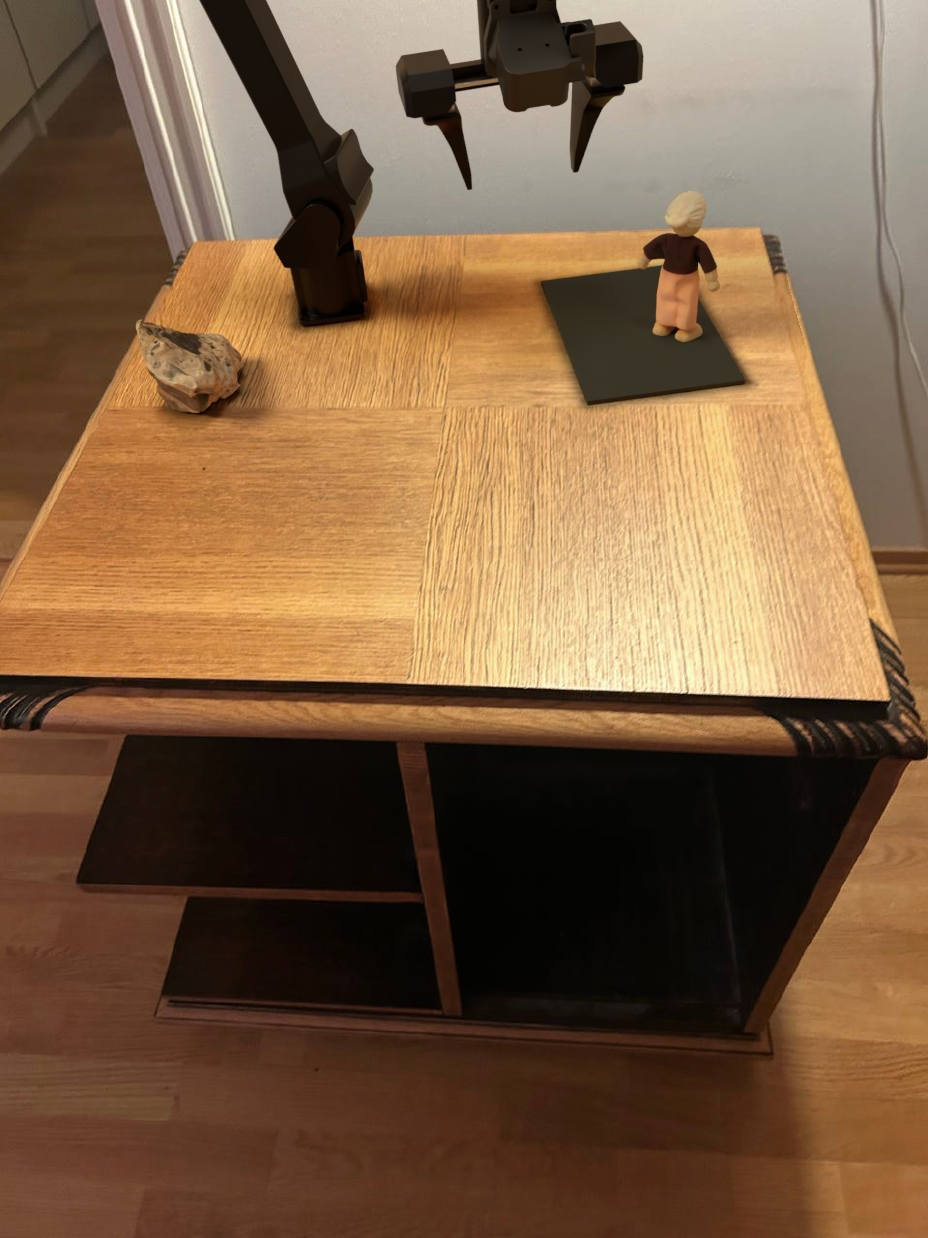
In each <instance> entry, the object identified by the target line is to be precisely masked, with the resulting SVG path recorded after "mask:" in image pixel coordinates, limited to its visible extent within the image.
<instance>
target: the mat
mask: <svg viewBox="0 0 928 1238" xmlns="http://www.w3.org/2000/svg"><path fill="white" fill-rule="evenodd" d="M662 265H663V264H662ZM662 265H661V264H660V265H654V266H648V267H647V268H646V269H644V270H643V269H639V268H638V267H637V268H631V269H630V268H629V269H624V270H615V271H608V272H600V273H599V272H598V273H593V274H592V273H591V274H584V275H575V276H568V277H560V278H553V279H545V280H540V285H541V288H542V290H543V294H544V296H545V299H546V301H547V303H548V306H549V309H550V311H551V315H552V316H553V319H554V322H555V324H556V327H557V330H558V333H559V335H560V337H561V338H560V339H561V341H562V342H563V345H564V348H565V350H566V354H567V357H568V358H569V361H570V364H571V367H572V370H573V371H574V374H575V378H576V380H577V383H578V384H579V387H580V390H581V392H582V395H583V398H584V400H585V401H584V402H585V403H586V405H587V406H589V405H596V404H604V403H610V402H617V401H625V400H626V401H627V400H633V399H641V398H648V397H655V396H663V395H669V394H677V393H682V392H683V393H684V392H685V393H686V392H691V391H700V390H706V389H714V388H722V387H728V386H737V385H743V384H744V385H745V384H746V378H745V376H744V374H743V373H742V371H741V369H740V368H739V366H738V364H737V362H736V360H735V359H734V357H733V356H732V354H731V352H730V350H729V349H728V347H727V345H726V344H725V342H724V340H723V338H722V337H721V335H720V333H719V331H718V330H717V328H716V326H715V325H714V323H713V320H711V318H710V316H709V314H708V313H707V311H706V309H705V307H704V306H703V304H702V302H701V300H700V298H698V305H697V318H696V323H697V324H699V325H700V326H701V328H702V335H701V336H699V337H698V338H695V339H693V340H691V341H689V342H681V341H679V340H677V339H676V338H675V334H676V333H677V331H678V330H679V328H678V327H676V328H675V329H674V330H673V331H672V332H671V333H670V334H669V335H667V336H658V335H655V334H654V333H653V328H654V325H655V323H656V307H657V290H658V284H659V278H660V273H661V268H662Z"/></svg>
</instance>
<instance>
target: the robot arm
mask: <svg viewBox="0 0 928 1238" xmlns="http://www.w3.org/2000/svg"><path fill="white" fill-rule="evenodd" d="M198 1H199V3H200V5H201V7H202V9H203V11H204V12H205V14H206V17H207V18H208V21H209V22H210V24H211V26H212V28H213V29H214V32H215V34H216V36H217V37H218V39H219V41H220V43H221V45H222V47H223V49H224V51H225V53H226V55H227V56H228V59H229V60H230V63H231V64H232V66H233V68H234V70H235V72H236V74H237V76H238V78H239V80H240V82H241V83H242V86H243V87H244V89H245V91H246V93H247V95H248V97H249V99H250V101H251V103H252V105H253V106H254V109H255V110H256V113H257V114H258V116H259V119H260V121H261V122H262V124H263V125H264V128H265V130H266V131H267V133H268V136H269V137H270V139H271V141H272V143H273V145H274V148H275V150H276V155H277V160H278V161H277V162H278V167H279V173H280V174H279V175H280V180H281V188H282V193H283V195H284V198H285V202H286V205H287V207H288V210H289V212H290V214H291V218H290V219H289V221H288V223H286V226H285V228H284V229H283V231H282V233H281V234H280V236H279V237H278V239H277V240H276V242H275V244H274V246H273V251H274V252H275V255H276V256H277V257H278V260H279V262H280V263H281V265H282V267H283V268H286V269H289V270H290V275H291V279H292V283H293V289H294V294H295V298H296V303H297V319H298V325H300V326H311V325H312V326H313V325H318V324H319V325H320V324H326V323H333V322H343V321H350V320H356V319H363V318H365V317H366V307H365V303H367V302H368V301H369V295H368V289H367V283H366V282H367V280H366V275H365V268H364V261H363V254H362V251H361V250H360V249H355V242H354V237H353V236H354V235H355V233H356V230H357V229H358V227H359V225H360V222H361V221H362V219H363V217H364V215H365V213H366V211H367V209H368V207H369V205H370V202H371V199H372V195H373V192H374V191H373V190H374V189H373V188H374V187H373V182H372V178H371V177H372V175H373V174H374V170H375V168H374V166H372V165H371V164H370V162H368V161H367V159H366V157H365V155H364V153H363V151H362V148H361V144H360V141H359V137H358V135H357V133H356V131H355V130H354V129H353V128H350V129H347V130H346V131H345V132H343V133H341V134H340V133H339V132H338V131H337V130H335V128H333V127H332V126H331V125H330V124H329V123H328V122H326V120H325V119H324V118H323V115H322V114H321V112H320V110H319V108H318V106H317V104H316V102H315V100H314V98H313V96H312V93H311V91H310V89H309V87H308V85H307V83H306V81H305V78H304V76H303V75H302V71H300V68H299V66H298V64H297V61H296V60H295V57H294V55H293V54H292V51H291V48H290V47H289V45H288V43H287V41H286V39H285V36H284V34H283V32H282V30H281V28H280V25H279V24H278V21H277V20H276V18H275V16H274V13H273V11H272V9H271V7H270V5H269V3H268V1H267V0H198ZM476 9H477V22H478V23H477V24H478V39H479V56H480V59H474V60H468V61H460V62H454V63H450V61H449V59H448V56H447V55H446V52H445V50H444V48H441V49H433V50H428V51H420V52H415V53H407V54H402V55H400V57H399V59H398V60H397V62H396V64H395V74H396V75H395V76H396V82H397V90H398V94H399V98H400V101H401V104H402V107H403V111H404V114H405V116H406V118H411V119H420V118H421V120H422V123H423V124H424V125H425V126H427V127H433V126H437V128H438V129H439V131H440V132H441V134H442V135H443V138H444V139H445V140H446V142H447V144H448V146H449V148H450V149H451V152H452V154H453V156H454V159H455V162H456V164H457V167H458V169H459V171H460V172H459V173H460V175H461V177H462V180H463V182H464V185H465V187H466V189H467V191H471V190H473V179H472V178H473V177H472V170H471V169H472V168H471V166H470V165H471V163H470V159H469V156H468V150H467V144H466V141H465V140H466V139H465V135H464V134H465V133H464V128H463V119H462V114H461V112H460V109H459V108H458V105H457V93H459V92H465V91H470V90H477V89H478V90H479V89H483V88H489V87H490V88H491V87H497V86H499V89H500V93H501V96H502V102H503V106H504V108H505V109H507V110H508V111H509V112H512V113H523V112H526V111H528V110H529V109H533V108H540V107H546V106H549V107H552V108H554V107H555V108H556V107H560V106H563V105H564V104H565V103H567V101H568V99H569V91H570V83H571V101H570V102H571V105H570V125H569V126H570V128H569V159H570V161H569V162H570V169H571V171H572V173H579V171H580V168H581V165H582V163H583V159H584V157H585V154H586V151H587V148H588V146H589V142H590V140H591V137H592V134H593V131H594V130H595V129H594V128H595V126H596V124H597V121H598V120H599V117H600V115H601V113H602V112H603V109H604V108H605V107H606V106H607V104H609V102H611V100H612V99H613V98H615V97H619V96H622V95H624V93H625V91H626V86H627V85H633V84H638V83H639V82H641V81H642V80H643V76H644V75H643V72H644V49H643V45H642V44H641V43H640V42H639V40H638V39H637V38H636V37H635V36H634V34H633V33H632V32H631V31H630V30H629V29H628V27H626V25H624V23H622V21H621V20H620V21H611V22H607V23H606V22H605V23H600V24H599V23H598V24H594V23H593V22H594V21H593V19H591V18H587V19H580V20H574V21H565V22H562V21H561V18H560V15H559V11H558V7H557V0H476Z"/></svg>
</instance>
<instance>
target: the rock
mask: <svg viewBox="0 0 928 1238" xmlns="http://www.w3.org/2000/svg"><path fill="white" fill-rule="evenodd" d="M135 329H136V333H137V336H138V343H139V345H140V354H141V356H142V358H143V359H144V361H145V362H146V370H147V372H148V374H149V375H150V376H151V377H152V378H153V379H154V380H156V386H155V387H156V390H157V393H158V394H159V396H160V397H161V398H162V400H163V401H164V403H165V404H166V405H167V406H168V407H169V408H170V410H173V411H177V412H180V413H193V414H199V413H203V412H204V411H206V409H208V408H209V407H210V406H211V404H212V403H215V402H217V401H218V400H219V399H226V398H228V397H230V396H232V395H233V394H234V393H235V391H237V390H239V388H240V387H241V384H240V383H239V381H238V372H239V371H240V370H241V369H242V368H244V367H245V364H244V363H243V362H242V361H243V360H242V354H241V353H240V352H239V351H238V350H237V348H235V347H234V346H233V345H232V344H231V342H230V341H229V339H227V338H226V337H225V336H224V335H222V334H219V333H211V332H210V333H203V332H197V333H194V332H189V333H188V332H184V331H183V332H182V331H179V330H175V329H174V328H171V327H167V326H166V327H165V326H163V325H160V324H155V323H153V322H149V321H148V322H147V321H144V319H138V320H136V323H135Z"/></svg>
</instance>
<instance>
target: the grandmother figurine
mask: <svg viewBox="0 0 928 1238" xmlns="http://www.w3.org/2000/svg"><path fill="white" fill-rule="evenodd" d="M707 204H708V203H707V199H706V198H704V194H703V193H700V192H698V191H697V192H696V191H695V190H688V191H685V192H682V193H680V194H679V195H678V196H675V197H674V199H673V200H672V201H671V203H670V205H668V207H667V209H666V213H665V214H666V215H665V216H663V219H664V220H665V224H666V225H667V226H668V227H670V228H671V229H672V230H673V232H674V233H672V232H666V233H662V234H660V235H658V236H656V237H653V239H651V240H650V241H648V243H647V244H645V245H644V246H643V247H642V253H641V256H640V257H639V258H638V259H637V261H636V266H637V268H639V269H643V270H644V269H646V268H647V267H649V263H651V262H652V261H654V260H663V264H662V268H661V273H660V278H659V284H658V290H657V307H656V323H655V325H654V328H653V333H654V334H655V335H658V336H667V335H669V334H670V333H671V332H672V331H673V330H674V329H675V328H676V327H678V328H679V330H678V331H677V333H676V334H675V338H676V339H677V340H679V341H681V342H689V341H691V340H693V339H695V338H698V337H699V336H701V335H702V328H701V326H700V325H699V324H697V323H696V318H697V305H698V299H699V294H700V279H701V278H700V269H701V271H702V272H703V274H704V277H705V280H706V283H707V290H708V292H709V291H710V292H712V293H715V292H718V291H719V290H720V287H721V283H720V281H719V279H718V278H719V274H718V265H717V263H716V260H715V258H714V255H713V253H712V251H711V249H710V248H709V245H708V243H706V241H704V240H703V239H701V238H699V237H698V236H696V234H697V233H698V232H699V231H700V230H701V228H702V226H703V222H704V219H705V218H706V213H707V212H708V210H707ZM699 266H700V269H699Z"/></svg>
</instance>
